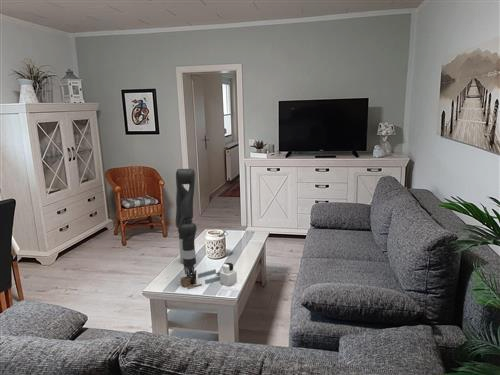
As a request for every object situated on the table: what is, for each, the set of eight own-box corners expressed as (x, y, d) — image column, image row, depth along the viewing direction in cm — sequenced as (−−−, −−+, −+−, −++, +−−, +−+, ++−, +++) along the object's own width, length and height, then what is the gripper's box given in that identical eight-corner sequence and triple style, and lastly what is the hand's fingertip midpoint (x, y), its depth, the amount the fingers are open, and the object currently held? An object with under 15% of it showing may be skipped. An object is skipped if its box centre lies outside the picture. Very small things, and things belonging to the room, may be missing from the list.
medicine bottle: (228, 279, 231) (227, 260, 229) (237, 282, 227) (236, 263, 224) (220, 283, 226) (219, 264, 224) (229, 286, 221) (228, 267, 219)
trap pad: (216, 273, 240) (216, 273, 240) (221, 271, 242) (221, 271, 242) (222, 278, 233) (222, 277, 233) (228, 276, 235) (228, 276, 235)
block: (181, 285, 226) (180, 277, 225) (193, 281, 230) (192, 274, 229) (184, 287, 222) (183, 280, 221) (196, 284, 226) (196, 277, 225)
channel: (197, 277, 235) (197, 273, 235) (215, 272, 241) (215, 269, 241) (205, 284, 225) (205, 280, 225) (223, 279, 232) (223, 275, 231)
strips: (180, 282, 229) (180, 281, 229) (194, 278, 234) (194, 277, 233) (187, 289, 220) (187, 288, 219) (202, 285, 224) (201, 284, 224)
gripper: (200, 258, 219) (201, 286, 223) (190, 251, 231) (191, 277, 234) (188, 261, 215) (189, 289, 219) (178, 254, 227) (180, 280, 231)
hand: (191, 283), depth 227 cm, fingers closed on block, 4 cm apart
